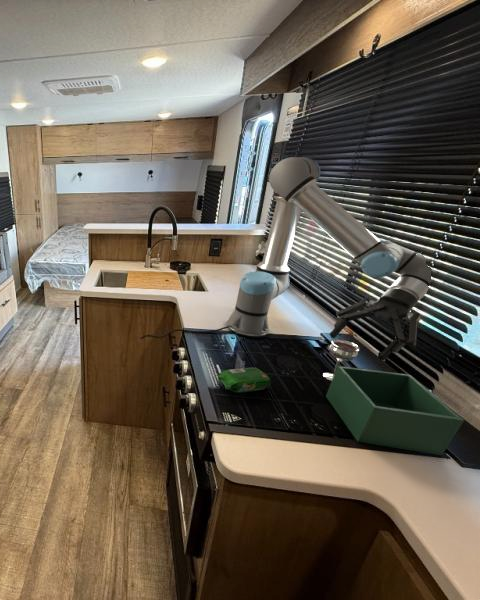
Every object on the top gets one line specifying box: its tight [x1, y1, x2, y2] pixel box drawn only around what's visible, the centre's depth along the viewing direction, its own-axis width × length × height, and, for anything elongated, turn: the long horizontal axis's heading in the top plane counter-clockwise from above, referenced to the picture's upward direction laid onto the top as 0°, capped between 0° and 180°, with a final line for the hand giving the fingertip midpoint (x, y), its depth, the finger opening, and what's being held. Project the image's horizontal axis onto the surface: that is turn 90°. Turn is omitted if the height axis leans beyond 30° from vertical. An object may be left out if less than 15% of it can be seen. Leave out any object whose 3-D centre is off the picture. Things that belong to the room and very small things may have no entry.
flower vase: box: [255, 240, 267, 257], centre depth 169 cm, size 13×18×25 cm
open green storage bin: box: [325, 365, 465, 456], centre depth 78 cm, size 17×17×11 cm
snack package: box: [217, 366, 272, 393], centre depth 92 cm, size 7×16×5 cm, turn 99°
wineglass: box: [322, 338, 361, 382], centre depth 95 cm, size 7×7×12 cm
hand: (354, 346), depth 95 cm, fingers open, 13 cm apart
